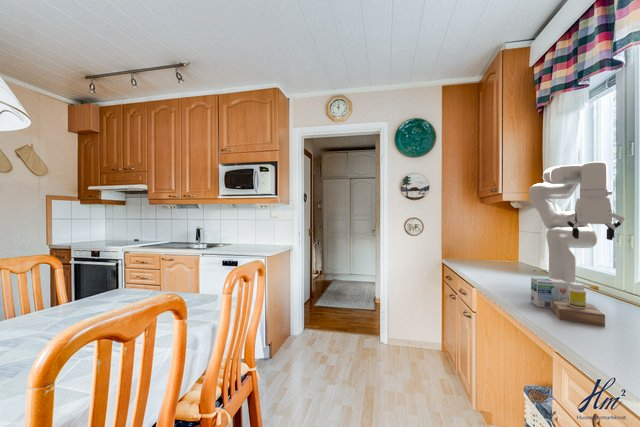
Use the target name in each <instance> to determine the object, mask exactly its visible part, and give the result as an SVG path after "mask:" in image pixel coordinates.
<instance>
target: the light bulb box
mask: <svg viewBox="0 0 640 427" xmlns="http://www.w3.org/2000/svg"><path fill="white" fill-rule="evenodd" d="M530 279H531V280H530V281H531V282H530V303H532V304H533V305H535V306H536V307H538V308H539V307H540V308H546V309H547V308H549V309H552V300H557V301H566V302H568V283H567V282H565V281H562V280H560V279H549V277H546V278H545V277H533V276H532V277H531V278H530Z"/></svg>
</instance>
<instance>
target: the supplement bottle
mask: <svg viewBox="0 0 640 427" xmlns="http://www.w3.org/2000/svg"><path fill="white" fill-rule="evenodd" d="M570 287H571V288H569V289H568V298H567V302H568V305H569V306H571V307H574V308H585V307H586V304H587V303H586V299H587V292H586V290H585V284H583V283H580V282H575V283H570Z"/></svg>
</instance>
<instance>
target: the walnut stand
mask: <svg viewBox="0 0 640 427" xmlns="http://www.w3.org/2000/svg"><path fill="white" fill-rule="evenodd" d="M551 312H552V313H553V314H554V315H555V316H556V317H557V319H558V320H559V321H562V320H563V322H570V323H577V324H583V325H584V324H585V325H591V326H599V327H606V314H605V313H603V311H601V310H599V309H598V308H597V307H596V306H595V305H593V304H591V303H586V307H585V308H574V307H571V306H569V305H568V301H567V302H566V301H557V300H552V308H551Z"/></svg>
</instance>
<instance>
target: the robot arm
mask: <svg viewBox="0 0 640 427" xmlns="http://www.w3.org/2000/svg"><path fill="white" fill-rule="evenodd" d="M542 179H543V181H544V182H542V183H541V182H539V183H536V184H533V185H532V186H530V187H529V190H528V197H529V201H530V203H531V205H532V206H533V207H534V209H535V210H536V211H537V212H538V214H539V216H540V219H541V221H542V222H543V225H544V227H545V228H546V229H547V231H546V242H547V250H548V278H549V279H560V280H562V281H565V282H567V283H568V289H569V288H571V287H570V283H576V265H577V264H576V263H577V262H576V257H575V255H574V253H573V252H572V251H571V250H570V249H590V248H594V247H595V246H596V244H597V242H598V241H597V240H598V239H597V238H598V237H597V234H596V231H594V228H593V227H592V225H605V226H606V228H607V229H606V240H609V241H613V239H614V238H615V230H616V229H617V228H619V227H620V226H621V224H622V223H623V222H624V221H625V219H626V218H625V217H624V216H620V215H618V214H616V213H613V211H612V204H611V200H610V197H608V196H611V195H613V191H612V190H608V164H607V162H605V161H590V162H585V163H584V162H583V163H582V164H571V165H570V164H567V165H557V166H553V167H549V168H547V169H546V170H545V171H544V172H543V174H542ZM578 186H579V197H578V198H576V201H575V207H574V211H564V210H561V209H560V206H559V205H558V204H556V202H554V201H553V200H566V199H569V198H570V197H572V195H573V194H574V193H575V191H576V189H577V188H578ZM613 218H614V219H616V221H615V222H614V223H612V222H613Z"/></svg>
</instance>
